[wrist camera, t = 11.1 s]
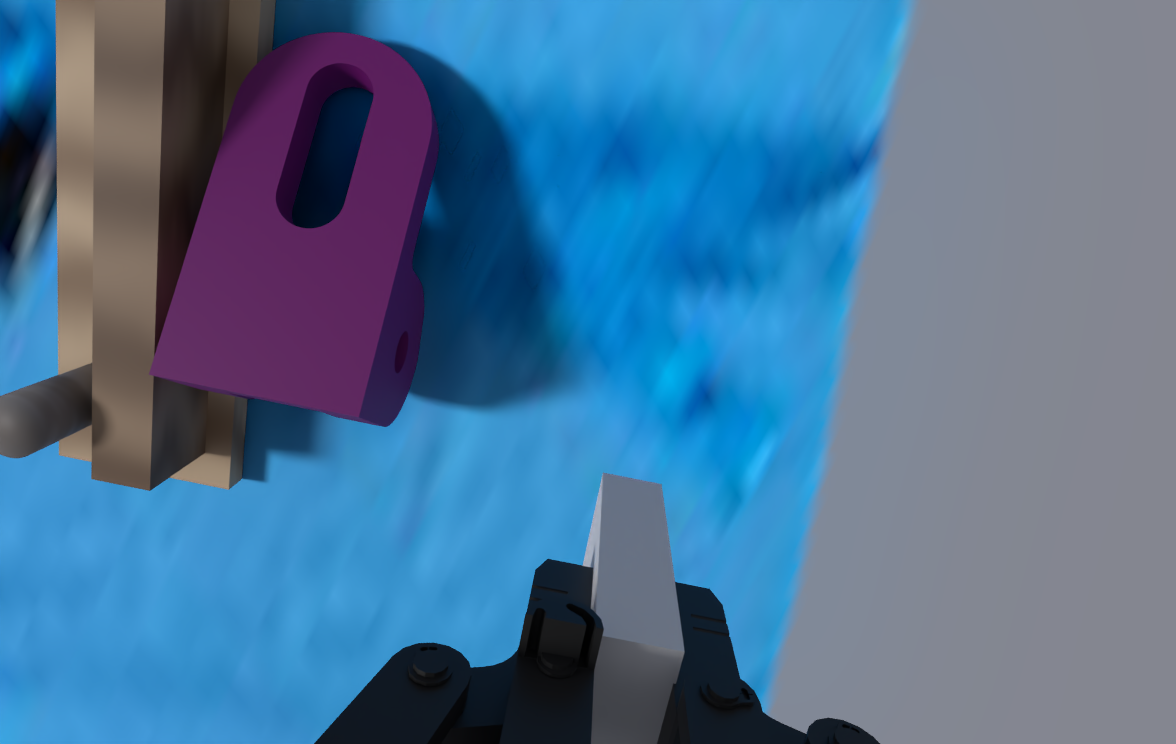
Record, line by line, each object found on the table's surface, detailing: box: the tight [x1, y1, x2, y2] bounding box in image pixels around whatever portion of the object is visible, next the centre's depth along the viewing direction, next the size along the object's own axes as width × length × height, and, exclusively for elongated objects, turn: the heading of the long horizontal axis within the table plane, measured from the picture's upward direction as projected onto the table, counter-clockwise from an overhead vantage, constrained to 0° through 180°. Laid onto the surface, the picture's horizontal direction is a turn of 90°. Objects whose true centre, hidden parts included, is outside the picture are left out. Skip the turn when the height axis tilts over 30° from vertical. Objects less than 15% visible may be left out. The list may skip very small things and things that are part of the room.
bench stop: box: [0, 0, 276, 491], centre depth 35 cm, size 32×10×8 cm, turn 169°
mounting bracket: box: [149, 32, 439, 427], centre depth 37 cm, size 10×8×18 cm
